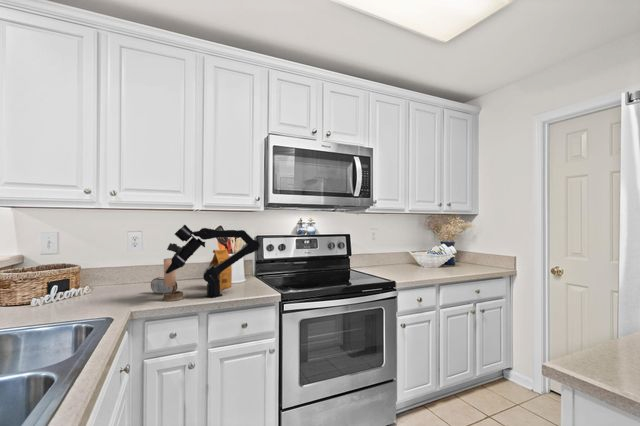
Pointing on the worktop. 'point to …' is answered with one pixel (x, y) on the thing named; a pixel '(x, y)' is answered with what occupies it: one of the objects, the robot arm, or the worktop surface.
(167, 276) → the canister
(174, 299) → the holder
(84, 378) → the worktop surface
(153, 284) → the tin
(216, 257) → the coffee package
